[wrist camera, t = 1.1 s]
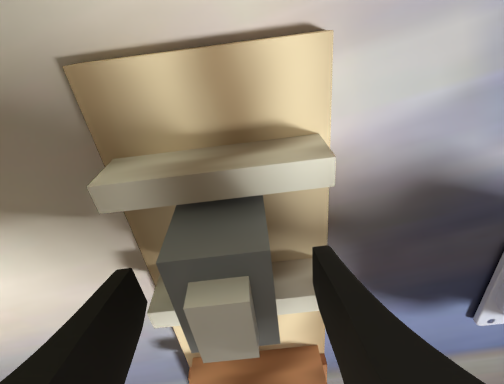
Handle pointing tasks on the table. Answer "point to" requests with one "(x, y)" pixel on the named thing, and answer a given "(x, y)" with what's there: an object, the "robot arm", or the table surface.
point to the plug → (221, 277)
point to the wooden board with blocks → (223, 169)
